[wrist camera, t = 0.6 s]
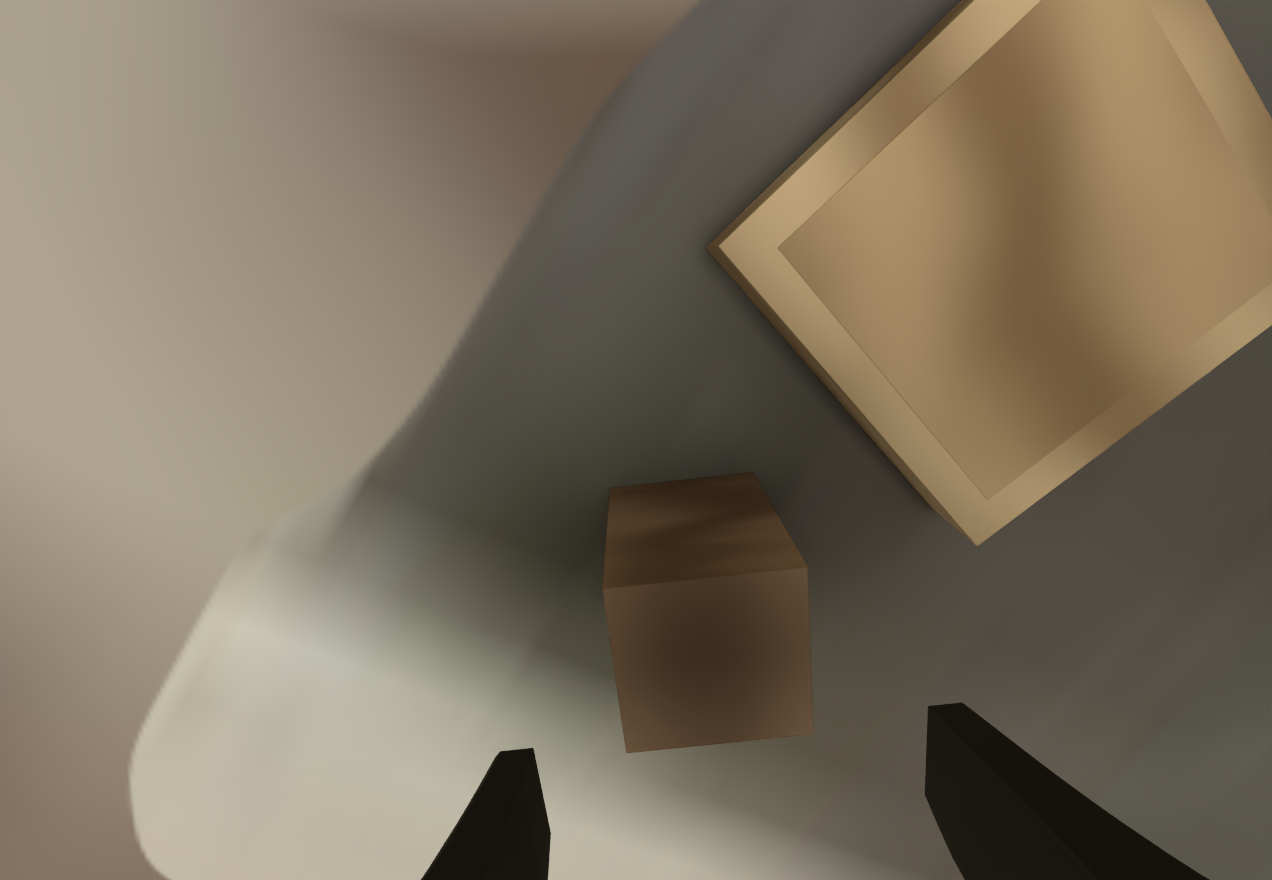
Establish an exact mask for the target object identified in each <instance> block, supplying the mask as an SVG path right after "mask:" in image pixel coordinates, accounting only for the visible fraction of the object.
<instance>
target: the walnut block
mask: <svg viewBox="0 0 1272 880" xmlns="http://www.w3.org/2000/svg"><path fill="white" fill-rule="evenodd" d="M602 591H603V598H604V605H605V612H606V619H607V625H608V632H609V639H610V646H611V652H612V659H613V666H614V673H615V680H616V686H617V693H618V700H619V707H620V713H621V720H622V727H623V734H624V741H625V747H626V753H633V752H643V751H653V750H663V749H673V748H682V747H692V746H702V745H712V744H722V743H732V742H741V741H751V740H761V739H771V738H781V737H791V736H800V735H810V734H813V712H812V680H811V648H810V617H809V585H808V567H807V565H806V563H805V561H804V560H803V558H802V556H801V555H800V553H799V551H798V549H797V548H796V546H795V544H794V542H793V541H792V539H791V537H790V536H789V534H788V532H787V530H786V529H785V527H784V525H783V523H782V522H781V520H780V518H779V517H778V515H777V513H776V511H775V510H774V508H773V506H772V505H771V503H770V501H769V499H768V498H767V496H766V494H765V492H764V491H763V489H762V487H761V486H760V484H759V482H758V480H757V479H756V477H755V475H754V473H753V472H750V473H741V474H732V475H723V476H714V477H705V478H696V479H687V480H678V481H670V482H661V483H652V484H643V485H634V486H625V487H616V488H610V493H609V507H608V520H607V533H606V546H605V559H604V573H603V586H602Z"/></svg>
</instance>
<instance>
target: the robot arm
mask: <svg viewBox="0 0 1272 880" xmlns="http://www.w3.org/2000/svg"><path fill="white" fill-rule="evenodd" d="M925 796H926V798H927V801H928V803H929V805H930V808H931V810H932V812H933V815H934V817H935V819H936V822H937V824H938V826H939V829H940V831H941V833H942V835H943V838H944V840H945V842H946V844H947V846H948V848H949V851H950V853H951V855H952V857H953V859H954V861H955V863H956V864H957V866H958V868H959V870H960V872H961V874H962V875H963V877H964V879H965V880H1209V879H1207V878H1206V877H1204V876H1202V875H1201V874H1199V873H1197V872H1196V871H1194V870H1193V869H1191V868H1190V867H1188V866H1187V865H1185V864H1183V863H1182V862H1180V861H1179V860H1177V859H1176V858H1174V857H1173V856H1171V855H1169V854H1168V853H1166V852H1165V851H1163V850H1162V849H1161V848H1159V847H1158V846H1156V845H1155V844H1153V843H1152V842H1150V841H1149V840H1147V839H1146V838H1144V837H1143V836H1141V835H1140V834H1138V833H1137V832H1135V831H1134V830H1133V829H1131V828H1130V827H1128V826H1127V825H1125V824H1124V823H1122V822H1121V821H1119V820H1118V819H1116V818H1115V817H1114V816H1112V815H1111V814H1109V813H1108V812H1107V811H1105V810H1104V809H1102V808H1101V807H1099V806H1098V805H1097V804H1095V803H1094V802H1092V801H1091V800H1090V799H1088V798H1087V797H1086V796H1084V795H1083V794H1081V793H1080V792H1079V791H1077V790H1076V789H1075V788H1073V787H1072V786H1071V785H1069V784H1068V783H1066V782H1065V781H1064V780H1062V779H1061V778H1060V777H1058V776H1057V775H1056V774H1054V773H1053V772H1052V771H1050V770H1049V769H1048V768H1046V767H1045V766H1044V765H1042V764H1041V763H1040V762H1038V761H1037V760H1036V759H1035V758H1033V757H1032V756H1031V755H1029V754H1028V753H1027V752H1025V751H1024V750H1023V749H1022V748H1020V747H1019V746H1018V745H1016V744H1015V743H1014V742H1012V741H1011V740H1010V739H1009V738H1007V737H1006V736H1005V735H1003V734H1002V733H1001V732H1000V731H998V730H997V729H996V728H994V727H993V726H992V725H991V724H989V723H988V722H987V721H985V720H984V719H983V718H982V717H980V716H979V715H978V714H976V713H975V712H974V711H972V710H971V709H970V708H969V707H967V706H966V705H965V704H963V703H954V704H944V705H935V706H928V723H927V750H926V777H925ZM550 836H551V832H550V827H549V823H548V818H547V813H546V808H545V803H544V798H543V793H542V788H541V783H540V778H539V774H538V769H537V764H536V759H535V754H534V749H533V748H528V749H519V750H509V751H500V753H499V754H498V755H497V756H496V757H495V759H494V761H493V762H492V764H491V766H490V768H489V770H488V771H487V773H486V775H485V777H484V778H483V780H482V782H481V784H480V785H479V787H478V789H477V791H476V792H475V794H474V796H473V798H472V799H471V801H470V803H469V804H468V806H467V808H466V809H465V811H464V813H463V814H462V816H461V818H460V819H459V821H458V823H457V824H456V826H455V828H454V829H453V831H452V832H451V834H450V836H449V837H448V839H447V840H446V842H445V843H444V845H443V847H442V848H441V850H440V851H439V853H438V855H437V856H436V858H435V859H434V861H433V862H432V864H431V866H430V867H429V869H428V870H427V872H426V873H425V875H424V876H423V878H422V879H421V880H548V868H549V852H550Z"/></svg>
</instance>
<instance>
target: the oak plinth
mask: <svg viewBox="0 0 1272 880" xmlns="http://www.w3.org/2000/svg"><path fill="white" fill-rule="evenodd" d="M706 249H707V250H708V251H709V252H710V254H711V255H712V256H713V257H714V258H715V259H716V260H717V262H718V263H719V264H720V265H721V266H722V267H723V269H724V270H725V271H726V272H727V273H728V274H729V275H730V277H731V278H732V279H733V280H734V281H735V282H736V283H737V285H738V286H739V287H740V288H741V289H742V290H743V292H744V293H745V294H746V295H747V296H748V297H749V298H750V300H751V301H752V302H753V303H754V304H755V305H756V307H757V308H758V309H759V310H760V311H761V312H762V313H763V315H764V316H765V317H766V318H767V319H768V320H769V321H770V323H771V324H772V325H773V326H774V327H775V328H776V330H777V331H778V332H779V333H780V334H781V335H782V336H783V338H784V339H785V340H786V341H787V342H788V343H789V345H790V346H791V347H792V348H793V349H794V350H795V351H796V353H797V354H798V355H799V356H800V357H801V358H802V359H803V361H804V362H805V363H806V364H807V365H808V366H809V368H810V369H811V370H812V371H813V372H814V373H815V374H816V376H817V377H818V378H819V379H820V380H821V381H822V383H823V384H824V385H825V386H826V387H827V388H828V389H829V391H830V392H831V393H832V394H833V395H834V396H835V397H836V399H837V400H838V401H839V402H840V403H841V404H842V406H843V407H844V408H845V409H846V410H847V411H848V412H849V414H850V415H851V416H852V417H853V418H854V419H855V421H856V422H857V423H858V424H859V425H860V426H861V427H862V429H863V430H864V431H865V432H866V433H867V434H868V435H869V437H870V438H871V439H872V440H873V441H874V442H875V444H876V445H877V446H878V447H879V448H880V449H881V450H882V452H883V453H884V454H885V455H886V456H887V457H888V459H889V460H890V461H891V462H892V463H893V464H894V465H895V467H896V468H897V469H898V470H899V471H900V472H901V473H902V475H903V476H904V477H905V478H906V479H907V480H908V482H909V483H910V484H911V485H912V486H913V487H914V488H915V490H916V491H917V492H918V493H919V494H920V495H921V497H922V498H923V499H924V500H925V501H926V502H927V503H928V505H929V506H930V507H931V508H932V509H933V510H934V511H935V512H936V513H937V514H939V515H940V516H941V517H942V518H943V519H945V520H946V521H947V522H948V523H950V524H951V525H952V526H953V527H954V528H956V529H957V530H958V531H959V532H960V533H962V534H963V535H964V536H965V537H967V538H968V539H969V540H970V541H971V542H973V543H974V544H975V545H976V546H978V545H980V544H981V543H982V542H983V541H985V540H986V539H987V538H989V537H990V536H991V535H993V534H994V533H995V532H997V531H998V530H999V529H1001V528H1002V527H1003V526H1005V525H1006V524H1007V523H1009V522H1010V521H1011V520H1013V519H1014V518H1015V517H1017V516H1018V515H1019V514H1021V513H1022V512H1023V511H1025V510H1026V509H1027V508H1029V507H1030V506H1031V505H1033V504H1034V503H1035V502H1037V501H1038V500H1039V499H1041V498H1042V497H1043V496H1045V495H1046V494H1047V493H1049V492H1050V491H1051V490H1053V489H1054V488H1055V487H1057V486H1058V485H1059V484H1061V483H1062V482H1063V481H1065V480H1066V479H1067V478H1069V477H1070V476H1071V475H1073V474H1074V473H1075V472H1077V471H1078V470H1079V469H1081V468H1082V467H1083V466H1085V465H1086V464H1087V463H1089V462H1090V461H1091V460H1093V459H1094V458H1095V457H1097V456H1098V455H1099V454H1101V453H1102V452H1103V451H1105V450H1106V449H1107V448H1109V447H1110V446H1111V445H1113V444H1114V443H1115V442H1117V441H1118V440H1119V439H1121V438H1122V437H1123V436H1125V435H1126V434H1127V433H1129V432H1130V431H1131V430H1133V429H1134V428H1135V427H1137V426H1138V425H1139V424H1141V423H1142V422H1143V421H1145V420H1146V419H1147V418H1149V417H1150V416H1151V415H1153V414H1154V413H1155V412H1157V411H1158V410H1159V409H1161V408H1162V407H1163V406H1165V405H1166V404H1167V403H1168V402H1170V401H1171V400H1172V399H1174V398H1175V397H1176V396H1178V395H1179V394H1180V393H1182V392H1183V391H1184V390H1186V389H1187V388H1188V387H1190V386H1191V385H1192V384H1194V383H1195V382H1196V381H1198V380H1199V379H1200V378H1202V377H1203V376H1204V375H1206V374H1207V373H1208V372H1210V371H1211V370H1212V369H1214V368H1215V367H1216V366H1218V365H1219V364H1220V363H1222V362H1223V361H1224V360H1226V359H1227V358H1228V357H1230V356H1231V355H1232V354H1234V353H1235V352H1236V351H1238V350H1239V349H1240V348H1242V347H1243V346H1244V345H1246V344H1247V343H1248V342H1250V341H1251V340H1252V339H1254V338H1255V337H1256V336H1258V335H1259V334H1260V333H1262V332H1263V331H1264V330H1266V329H1267V328H1268V327H1270V326H1271V325H1272V118H1271V117H1270V115H1269V113H1268V111H1267V109H1266V108H1265V106H1264V104H1263V102H1262V100H1261V99H1260V97H1259V95H1258V93H1257V92H1256V90H1255V88H1254V86H1253V84H1252V83H1251V81H1250V79H1249V77H1248V75H1247V74H1246V72H1245V70H1244V68H1243V66H1242V65H1241V63H1240V61H1239V59H1238V57H1237V56H1236V54H1235V52H1234V50H1233V48H1232V47H1231V45H1230V43H1229V41H1228V39H1227V38H1226V36H1225V34H1224V32H1223V30H1222V29H1221V27H1220V25H1219V23H1218V21H1217V20H1216V18H1215V16H1214V14H1213V12H1212V11H1211V9H1210V7H1209V5H1208V4H1207V2H1206V0H961V1H960V2H959V3H958V4H957V5H956V6H955V7H954V8H953V9H952V10H951V11H950V12H949V13H948V14H947V15H946V16H945V17H944V18H943V19H942V20H941V21H940V22H939V23H937V24H936V25H935V26H934V27H933V28H932V29H931V30H930V31H929V32H928V33H927V34H926V35H925V36H924V37H923V38H922V39H921V40H920V41H919V42H918V43H917V44H916V45H915V46H914V47H913V48H912V49H911V50H910V51H909V52H907V53H906V54H905V55H904V56H903V57H902V58H901V59H900V60H899V61H898V62H897V63H896V64H895V65H894V66H893V67H892V68H891V69H890V70H889V71H888V72H887V73H886V74H885V75H884V76H883V77H882V78H881V79H880V80H878V81H877V82H876V83H875V84H874V85H873V86H872V87H871V88H870V89H869V90H868V91H867V92H866V93H865V94H864V95H863V96H862V97H861V98H860V99H859V100H858V101H857V102H856V103H855V104H854V105H853V106H852V107H851V108H850V109H848V110H847V111H846V112H845V113H844V114H843V115H842V116H841V117H840V118H839V119H838V120H837V121H836V122H835V123H834V124H833V125H832V126H831V127H830V128H829V129H828V130H827V131H826V132H825V133H824V134H823V135H822V136H821V137H820V138H818V139H817V140H816V141H815V142H814V143H813V144H812V145H811V146H810V147H809V148H808V149H807V150H806V151H805V152H804V153H803V154H802V155H801V156H800V157H799V158H798V159H797V160H796V161H795V162H794V163H793V164H792V165H791V166H789V167H788V168H787V169H786V170H785V171H784V172H783V173H782V174H781V175H780V176H779V177H778V178H777V179H776V180H775V181H774V182H773V183H772V184H771V185H770V186H769V187H768V188H767V189H766V190H765V191H764V192H763V193H762V194H761V195H759V196H758V197H757V198H756V199H755V200H754V201H753V202H752V203H751V204H750V205H749V206H748V207H747V208H746V209H745V210H744V211H743V212H742V213H741V214H740V215H739V216H738V217H737V218H736V219H735V220H734V221H733V222H732V223H730V224H729V225H728V226H727V227H726V228H725V229H724V230H723V231H722V232H721V233H720V234H719V235H718V236H717V237H716V238H715V239H714V240H713V241H712V242H711V243H710V244H709V245H708V246H707V247H706Z"/></svg>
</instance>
